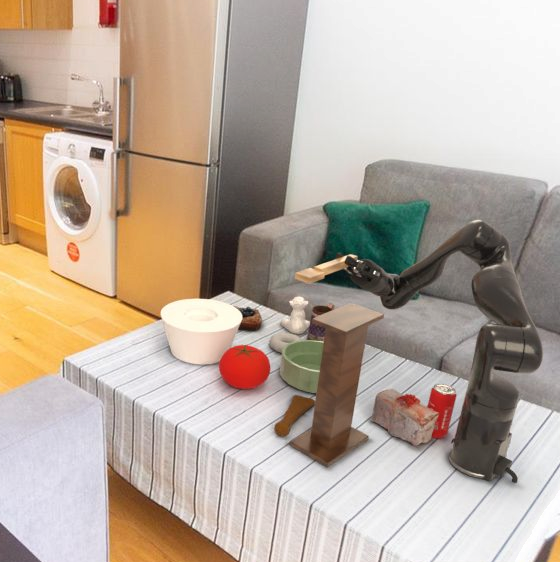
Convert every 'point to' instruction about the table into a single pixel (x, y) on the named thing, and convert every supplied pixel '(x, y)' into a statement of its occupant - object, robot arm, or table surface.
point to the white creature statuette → (297, 317)
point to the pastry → (250, 319)
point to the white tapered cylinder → (200, 329)
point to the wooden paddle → (322, 270)
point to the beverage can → (442, 407)
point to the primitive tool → (293, 414)
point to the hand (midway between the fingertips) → (342, 258)
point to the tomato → (244, 367)
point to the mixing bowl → (302, 364)
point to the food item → (404, 416)
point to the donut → (282, 340)
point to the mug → (315, 330)
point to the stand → (337, 385)
